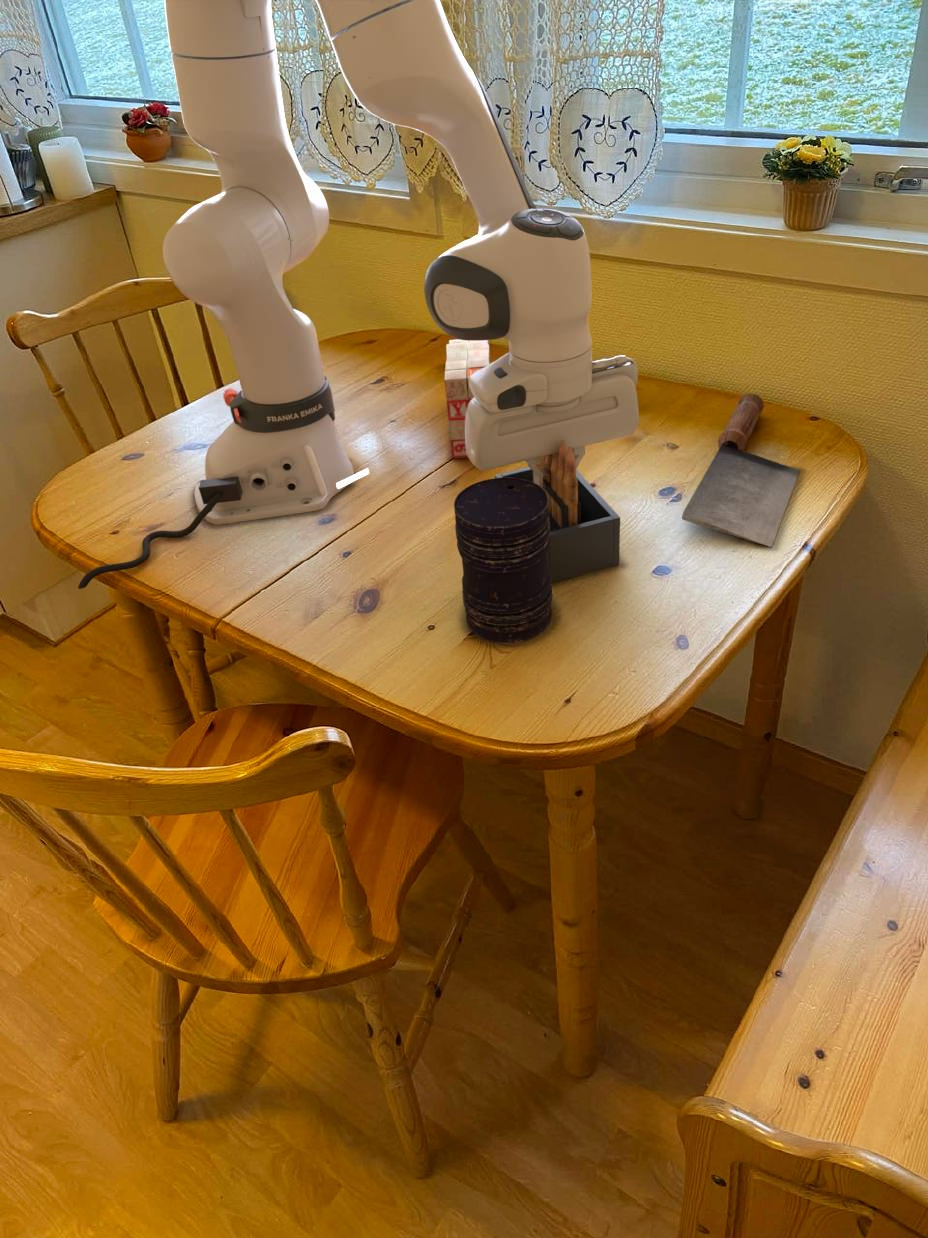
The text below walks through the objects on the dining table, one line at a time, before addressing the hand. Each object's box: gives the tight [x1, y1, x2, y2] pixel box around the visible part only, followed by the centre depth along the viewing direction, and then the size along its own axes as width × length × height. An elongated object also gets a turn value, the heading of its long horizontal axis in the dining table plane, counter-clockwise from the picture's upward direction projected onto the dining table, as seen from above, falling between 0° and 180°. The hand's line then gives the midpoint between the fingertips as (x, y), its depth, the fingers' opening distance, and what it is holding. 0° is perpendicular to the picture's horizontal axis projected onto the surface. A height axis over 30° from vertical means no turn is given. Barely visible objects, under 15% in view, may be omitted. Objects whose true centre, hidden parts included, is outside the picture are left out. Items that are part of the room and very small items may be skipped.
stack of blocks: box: [443, 338, 492, 459], centre depth 137 cm, size 21×6×12 cm, turn 179°
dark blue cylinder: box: [453, 477, 553, 645], centre depth 99 cm, size 10×10×15 cm
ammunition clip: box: [532, 440, 581, 530], centre depth 108 cm, size 11×2×12 cm, turn 18°
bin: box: [494, 466, 621, 584], centre depth 112 cm, size 10×16×7 cm, turn 18°
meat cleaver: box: [681, 393, 801, 548], centre depth 122 cm, size 34×11×4 cm, turn 155°
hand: (554, 482), depth 109 cm, fingers closed on ammunition clip, 2 cm apart
